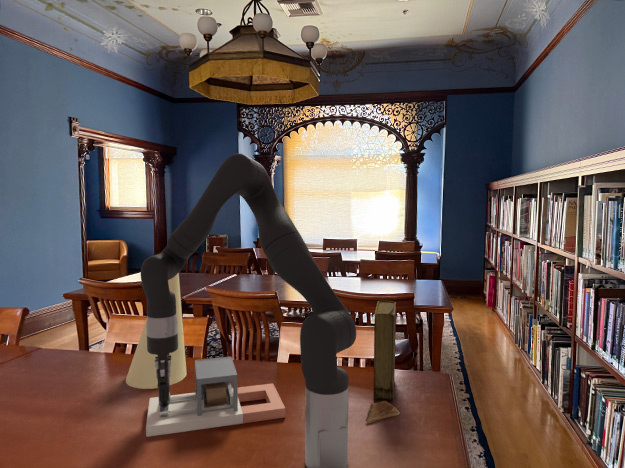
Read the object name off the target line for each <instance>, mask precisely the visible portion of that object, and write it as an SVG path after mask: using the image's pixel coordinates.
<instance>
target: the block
mask: <svg viewBox="0 0 625 468" xmlns="http://www.w3.org/2000/svg"><path fill="white" fill-rule="evenodd" d="M220 404H226V384H225V382H219V383H211V384H206V405H207V406H213V405H220Z"/></svg>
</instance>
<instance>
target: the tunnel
mask: <svg viewBox="0 0 625 468" xmlns="http://www.w3.org/2000/svg"><path fill="white" fill-rule="evenodd" d="M232 357H233V356H224V357H223V356H221V357H215V358H214V357H211V358H204V359H203V358H202V359H201V358H200V359H194V379H195V380H194V381H195V383H194V384H195V393H196V394H197V415H198V416H202V407H201V386H202V388H203V393H206V384H211V383H219V382H225V384H226V391H227V383H229V382H230V383H231V386H232V388H233V410H234V411H238V372H237V370H236V366H235V364H234V361H233V358H232Z"/></svg>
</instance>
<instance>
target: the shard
mask: <svg viewBox="0 0 625 468" xmlns="http://www.w3.org/2000/svg"><path fill="white" fill-rule="evenodd" d="M400 413H401V412H400V411H399V410H398V409H397V407H396V406H394V405H392V404H391V403H389V401H387V400H383V401H380V402H379V401H378V402H374V403H371V402H370V405H369V408H368V412H367V413H366V414H367V415H366V418H365V422H366V425H367V424H368V425H369V424H370V423H374V422H377V421H380V420H383V419H387V418H390V417H397V416H399V415H400Z"/></svg>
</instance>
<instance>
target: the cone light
mask: <svg viewBox="0 0 625 468" xmlns="http://www.w3.org/2000/svg"><path fill="white" fill-rule="evenodd" d="M168 284H169V290H170V291H172V292H173V293H174V294H175V297H176V315H177V322H178V349H177V350H176V351H174V352H172V353H169V355H171V371H170V377H169V380H170V386H173V385H174V384H177V383H179V382H181V381H183V380H184V379H185V377H187V364H186V351H185V338H184V325H183V313H182V311H183V310H182V301H181V300H182V299H181V297H182V296H181V289H180V288H181V285H180V272H179V273H178V274H177V275H176V276H175V277H173V278H172V279H170V280H168ZM146 324H147V318H146V319H145V323H144V325H143V328H142V331H141V335H140V337H139V340H138V343H137V346H136V348H135V352H134V355H133V358H132V361H131V364H130V366H129V370H128V373H127V375H126V378H125V384H127V386H129V387H132V388H136V389H143V390H144V389H145V390H150V389H151V390H153V389H158V387H157V385H158V379H157V378H156V367H155V357H156V356H158V355H156V354H150V353H149V352H148V351H147V328H146Z"/></svg>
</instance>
